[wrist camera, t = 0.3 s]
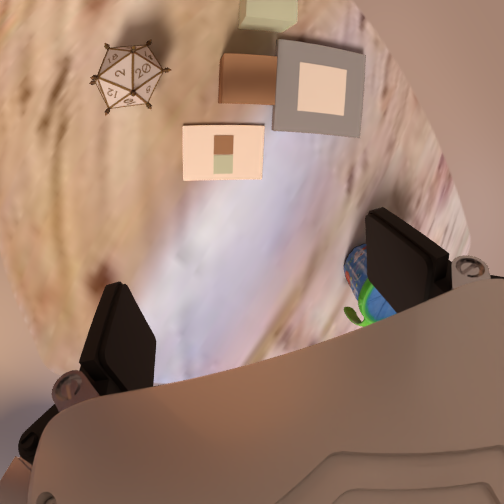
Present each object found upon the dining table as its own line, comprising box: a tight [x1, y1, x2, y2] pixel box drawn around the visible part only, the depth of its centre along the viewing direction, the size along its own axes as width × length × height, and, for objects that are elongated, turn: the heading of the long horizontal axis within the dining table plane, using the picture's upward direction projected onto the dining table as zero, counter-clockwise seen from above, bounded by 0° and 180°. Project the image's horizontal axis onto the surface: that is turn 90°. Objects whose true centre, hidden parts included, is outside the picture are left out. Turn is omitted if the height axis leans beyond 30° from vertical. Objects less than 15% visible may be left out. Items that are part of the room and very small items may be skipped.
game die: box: [89, 40, 171, 116], centre depth 26 cm, size 9×8×10 cm
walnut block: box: [218, 53, 277, 105], centre depth 30 cm, size 6×6×6 cm
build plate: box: [272, 39, 366, 138], centre depth 34 cm, size 12×12×1 cm
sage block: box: [238, 0, 298, 33], centre depth 26 cm, size 6×6×6 cm
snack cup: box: [344, 244, 397, 327], centre depth 44 cm, size 16×10×10 cm
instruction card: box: [183, 125, 264, 181], centre depth 36 cm, size 7×10×1 cm
